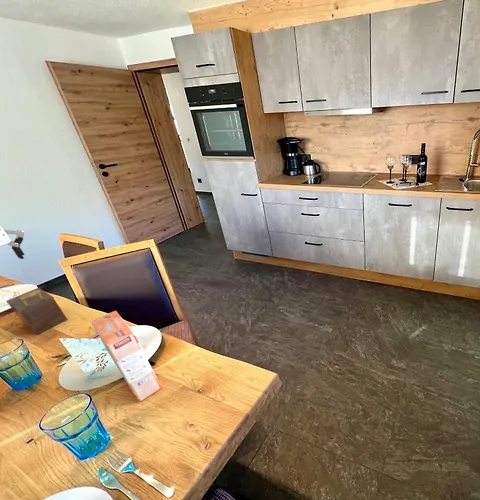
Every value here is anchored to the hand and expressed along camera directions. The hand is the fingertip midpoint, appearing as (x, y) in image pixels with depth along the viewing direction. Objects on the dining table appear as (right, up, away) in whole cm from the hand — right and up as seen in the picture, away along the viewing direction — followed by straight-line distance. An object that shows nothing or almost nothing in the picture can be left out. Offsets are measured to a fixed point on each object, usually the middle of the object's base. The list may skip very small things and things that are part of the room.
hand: (0, 265), depth 92 cm
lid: (-2, -13, +10) cm, 17 cm away
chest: (-2, -22, +15) cm, 27 cm away
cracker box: (+52, -33, -10) cm, 62 cm away
